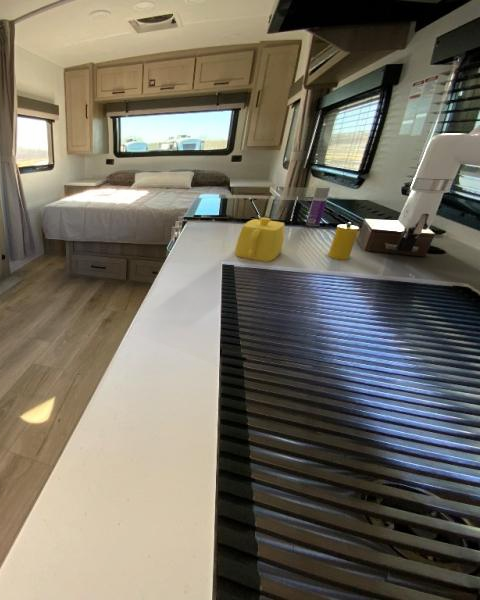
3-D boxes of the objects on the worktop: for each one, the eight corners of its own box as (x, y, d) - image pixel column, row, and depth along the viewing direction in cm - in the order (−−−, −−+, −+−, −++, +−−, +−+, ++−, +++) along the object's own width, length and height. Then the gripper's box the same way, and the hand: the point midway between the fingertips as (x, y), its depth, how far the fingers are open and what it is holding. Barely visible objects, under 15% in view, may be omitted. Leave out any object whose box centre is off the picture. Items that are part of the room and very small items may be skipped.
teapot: (248, 242, 120) (255, 209, 115) (286, 248, 113) (295, 213, 107) (228, 257, 107) (234, 221, 102) (270, 265, 100) (279, 227, 94)
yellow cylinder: (346, 256, 104) (359, 221, 99) (349, 262, 100) (362, 225, 95) (327, 254, 106) (338, 219, 101) (328, 259, 102) (339, 223, 97)
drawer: (428, 260, 96) (437, 241, 93) (370, 254, 102) (377, 236, 99) (411, 243, 110) (419, 226, 107) (360, 239, 116) (366, 222, 113)
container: (321, 226, 135) (333, 187, 128) (310, 226, 135) (320, 188, 129) (314, 223, 139) (325, 186, 133) (303, 223, 140) (313, 186, 133)
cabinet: (424, 258, 100) (435, 233, 97) (363, 252, 107) (372, 229, 103) (410, 244, 111) (420, 222, 108) (356, 239, 118) (364, 218, 115)
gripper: (405, 180, 96) (381, 242, 104) (420, 188, 84) (392, 256, 93) (440, 181, 92) (412, 244, 101) (461, 190, 81) (428, 260, 89)
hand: (403, 250), depth 97 cm, fingers closed
